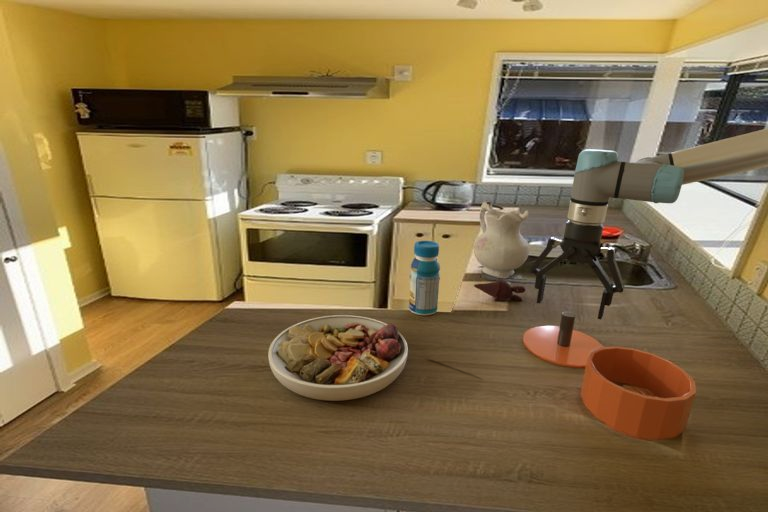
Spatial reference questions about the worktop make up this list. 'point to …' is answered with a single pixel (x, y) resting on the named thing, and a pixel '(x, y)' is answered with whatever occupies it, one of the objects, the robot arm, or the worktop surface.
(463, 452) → the worktop surface
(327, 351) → the bowl
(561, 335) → the pot lid
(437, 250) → the beverage bottle
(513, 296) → the icecream
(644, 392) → the pastry
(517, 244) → the ceramic pitcher
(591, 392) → the pot
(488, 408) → the worktop surface
